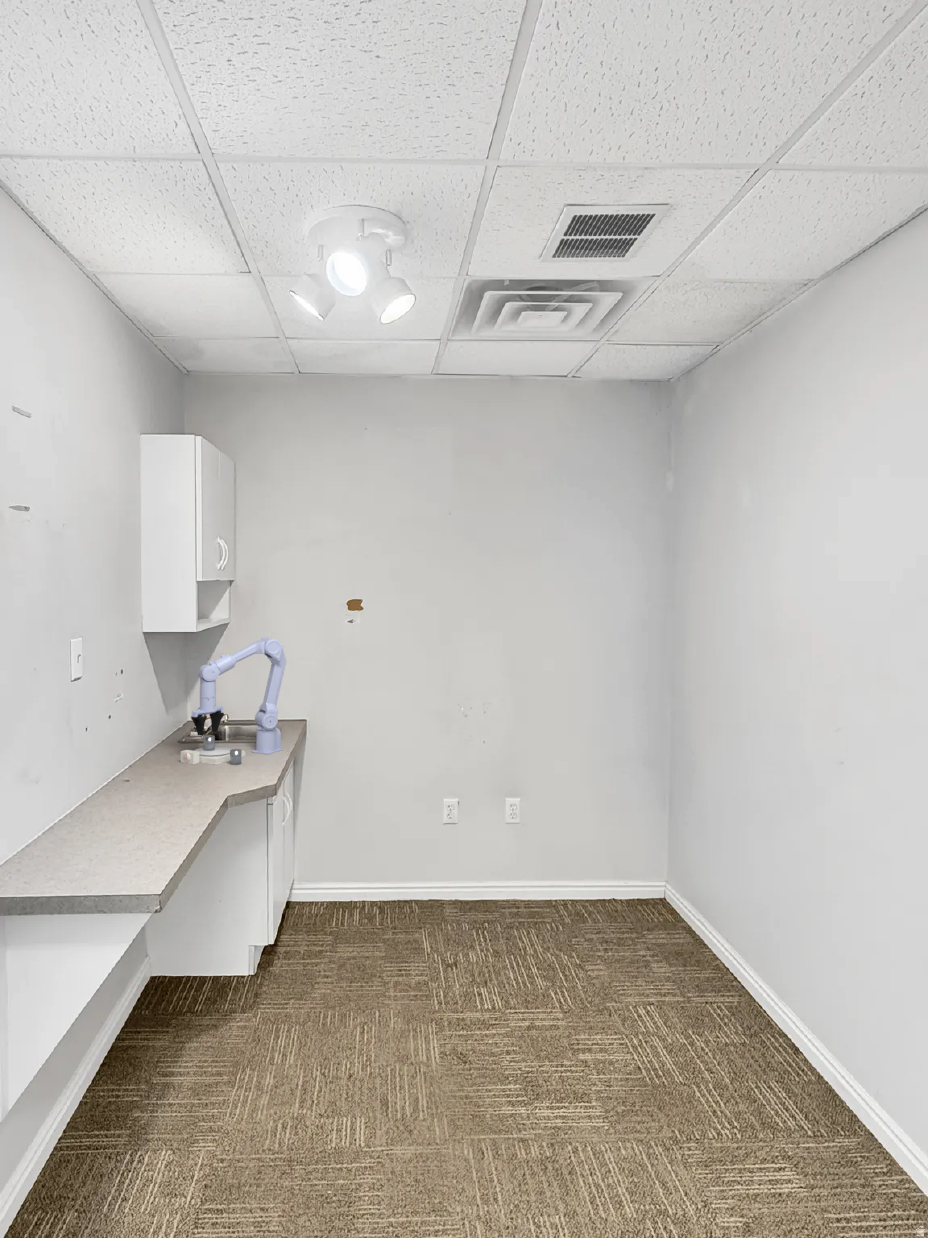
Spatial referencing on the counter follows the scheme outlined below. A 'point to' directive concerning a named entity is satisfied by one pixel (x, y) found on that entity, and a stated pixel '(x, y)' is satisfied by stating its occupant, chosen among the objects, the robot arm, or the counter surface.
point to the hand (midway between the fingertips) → (207, 733)
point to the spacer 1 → (209, 743)
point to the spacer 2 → (235, 756)
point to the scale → (207, 755)
